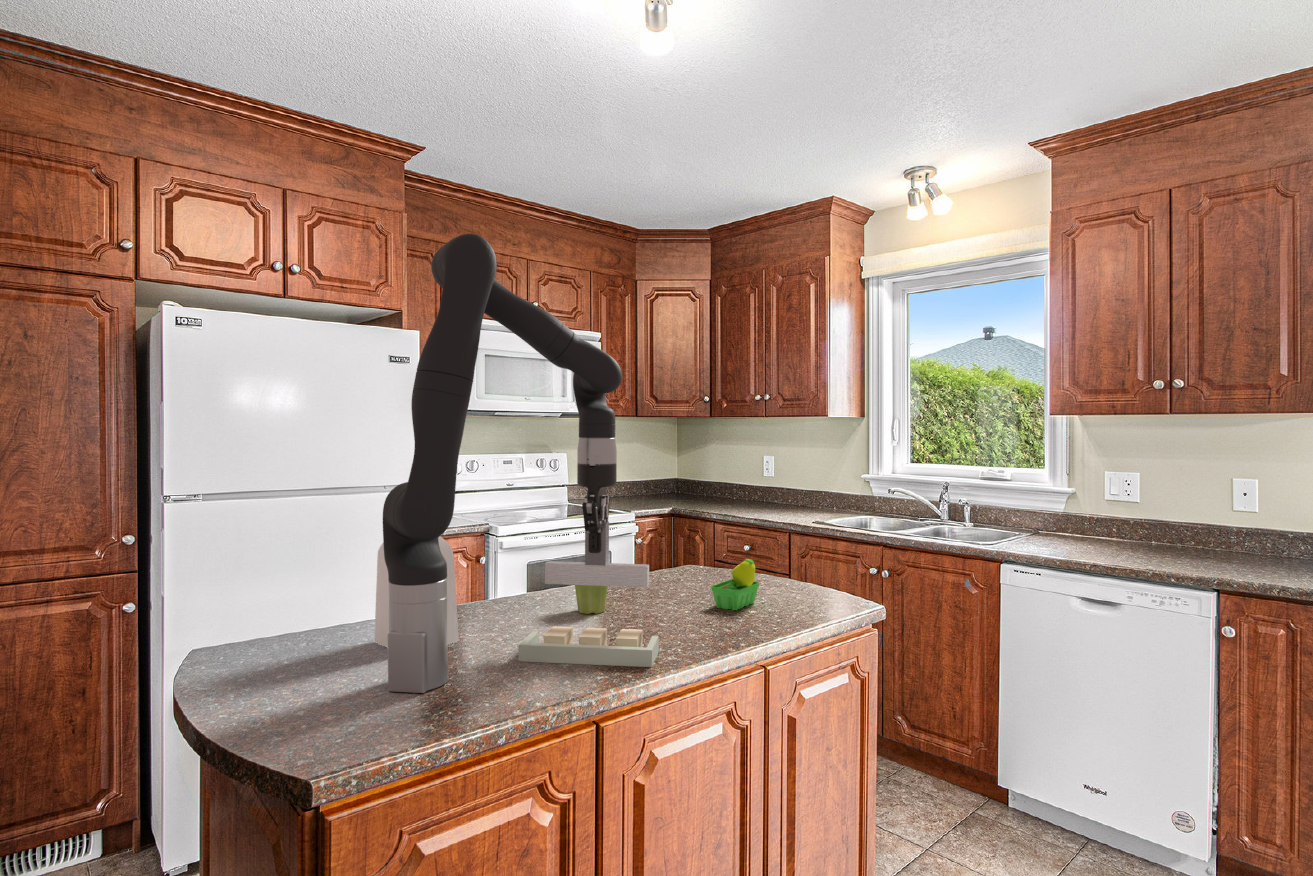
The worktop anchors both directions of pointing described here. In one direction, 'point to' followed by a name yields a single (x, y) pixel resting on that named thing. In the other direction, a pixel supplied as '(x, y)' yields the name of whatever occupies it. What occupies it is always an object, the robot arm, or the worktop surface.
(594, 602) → the plant pot
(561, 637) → the block left
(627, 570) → the t-shaped handle
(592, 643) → the block middle
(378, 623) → the milk
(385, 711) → the worktop surface
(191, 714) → the worktop surface
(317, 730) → the worktop surface
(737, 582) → the fruit basket
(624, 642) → the block right
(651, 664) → the tray
